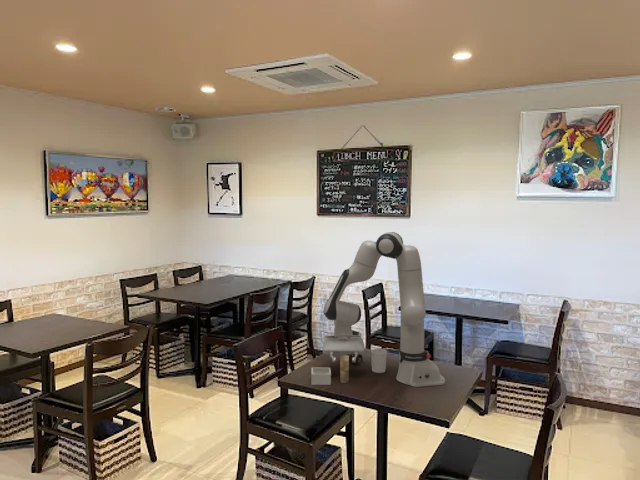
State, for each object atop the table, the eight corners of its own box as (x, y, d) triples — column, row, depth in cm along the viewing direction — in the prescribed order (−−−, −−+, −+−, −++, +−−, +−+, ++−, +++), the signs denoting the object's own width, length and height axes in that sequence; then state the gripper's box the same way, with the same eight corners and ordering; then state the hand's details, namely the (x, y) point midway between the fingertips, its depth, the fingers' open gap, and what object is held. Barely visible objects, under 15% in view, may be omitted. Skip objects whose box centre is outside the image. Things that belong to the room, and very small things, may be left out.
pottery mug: (340, 361, 252) (345, 346, 255) (355, 368, 254) (360, 353, 257) (348, 362, 241) (354, 347, 244) (364, 369, 243) (369, 354, 246)
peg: (348, 379, 225) (348, 354, 224) (348, 382, 221) (349, 357, 220) (339, 379, 225) (340, 354, 224) (340, 382, 221) (340, 357, 220)
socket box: (330, 377, 227) (330, 367, 227) (330, 384, 219) (330, 374, 218) (311, 377, 227) (311, 367, 227) (311, 384, 218) (311, 374, 218)
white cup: (386, 374, 233) (386, 354, 232) (370, 372, 234) (370, 353, 233) (387, 368, 240) (387, 349, 239) (371, 367, 242) (371, 348, 241)
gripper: (322, 332, 231) (322, 358, 222) (364, 332, 231) (365, 358, 222) (321, 338, 236) (321, 364, 227) (363, 339, 236) (364, 364, 227)
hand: (343, 361), depth 224 cm, fingers open, 8 cm apart
